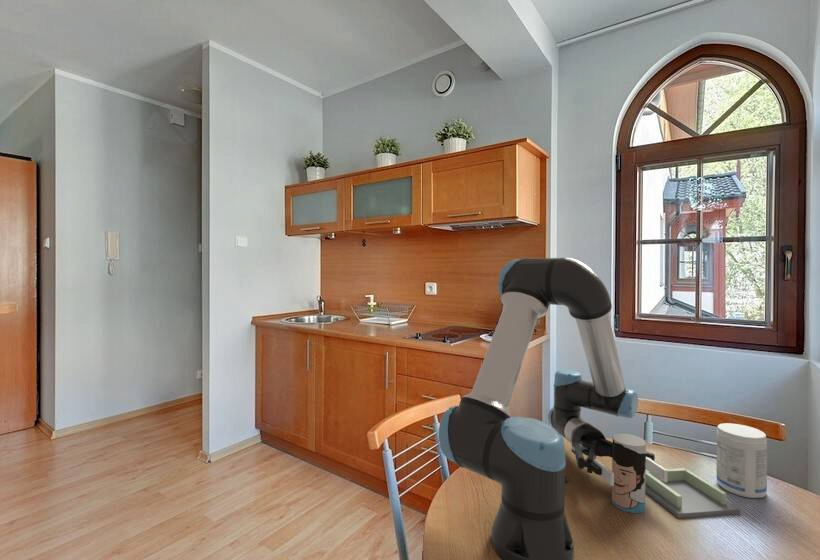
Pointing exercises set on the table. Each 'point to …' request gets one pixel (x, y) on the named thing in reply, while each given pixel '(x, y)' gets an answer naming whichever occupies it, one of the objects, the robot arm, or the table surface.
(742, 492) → the supplement tub
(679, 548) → the table surface
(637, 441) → the white printed cylinder
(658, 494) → the holder
